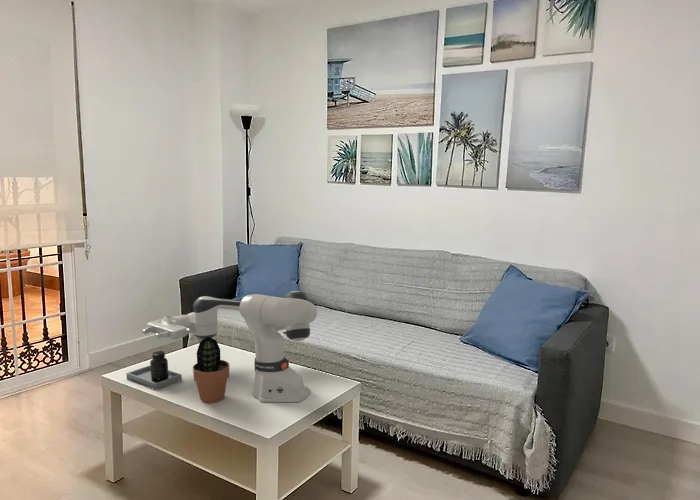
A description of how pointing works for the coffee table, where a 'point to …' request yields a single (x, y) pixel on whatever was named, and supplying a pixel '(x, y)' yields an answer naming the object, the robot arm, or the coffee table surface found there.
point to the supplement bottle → (159, 367)
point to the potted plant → (210, 371)
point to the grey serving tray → (144, 378)
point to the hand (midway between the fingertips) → (149, 334)
